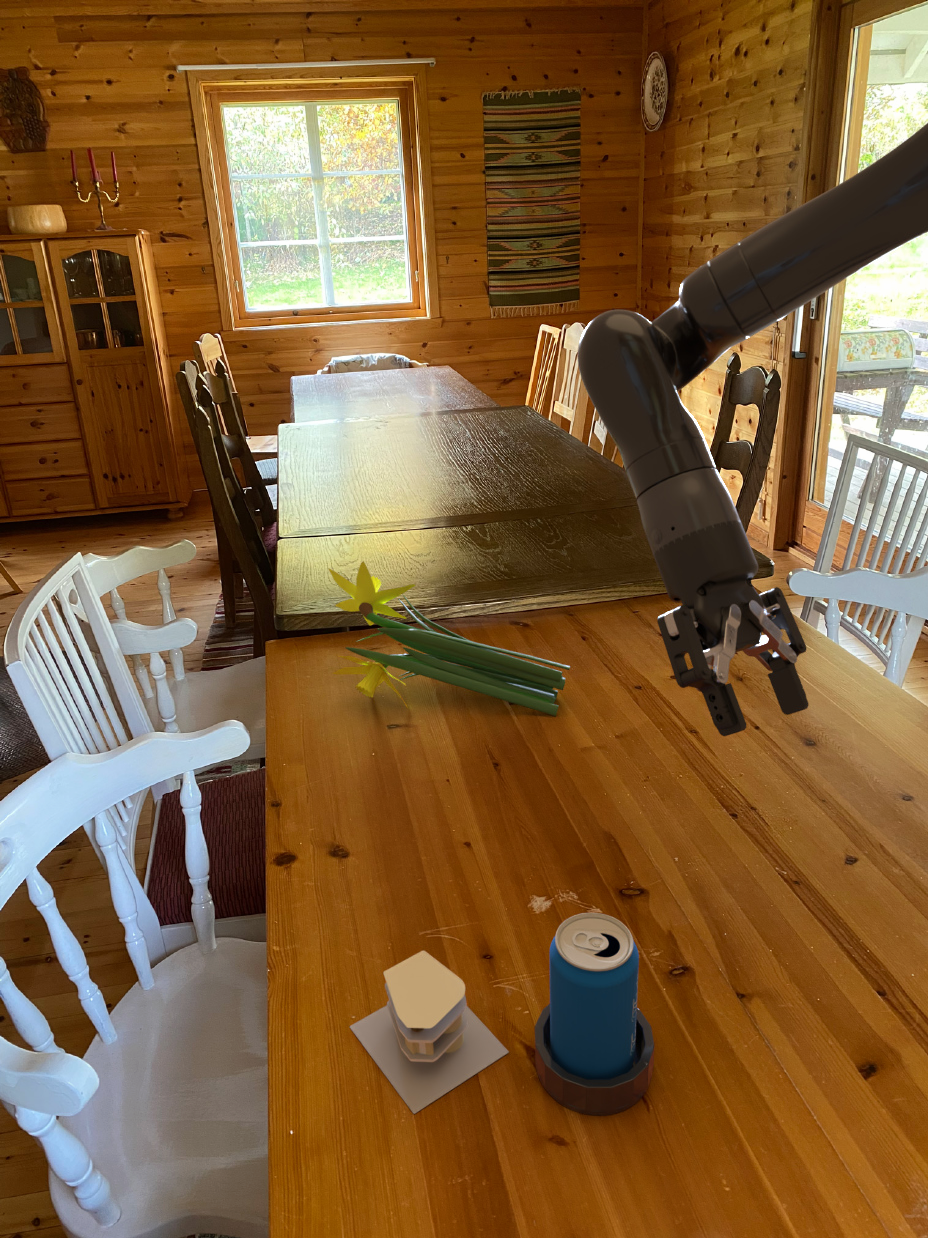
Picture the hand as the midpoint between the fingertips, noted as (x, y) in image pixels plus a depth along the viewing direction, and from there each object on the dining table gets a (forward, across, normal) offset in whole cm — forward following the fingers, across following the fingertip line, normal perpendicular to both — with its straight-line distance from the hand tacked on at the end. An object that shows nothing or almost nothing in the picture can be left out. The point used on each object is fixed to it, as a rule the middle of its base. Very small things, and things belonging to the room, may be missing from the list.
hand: (766, 722), depth 73 cm
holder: (+21, -16, +15) cm, 30 cm away
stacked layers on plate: (+16, -24, +24) cm, 38 cm away
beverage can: (+20, -16, +15) cm, 30 cm away
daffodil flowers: (-16, +11, +56) cm, 59 cm away
